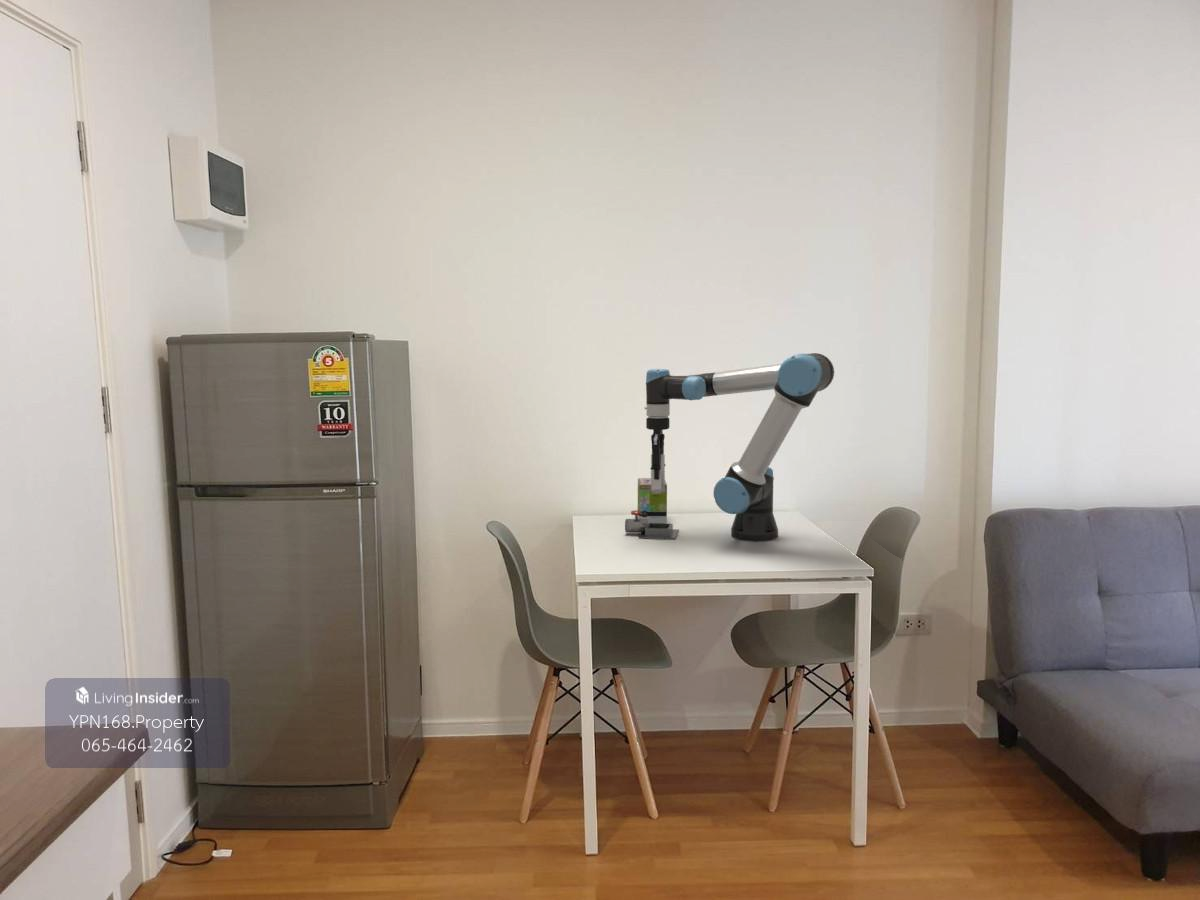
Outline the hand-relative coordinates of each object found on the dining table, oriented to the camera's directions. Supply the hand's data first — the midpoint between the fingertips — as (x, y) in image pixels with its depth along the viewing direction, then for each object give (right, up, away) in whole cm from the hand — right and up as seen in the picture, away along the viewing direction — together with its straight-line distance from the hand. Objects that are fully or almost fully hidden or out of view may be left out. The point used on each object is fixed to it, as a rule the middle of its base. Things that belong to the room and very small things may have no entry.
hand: (658, 487), depth 280 cm
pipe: (0, -1, 0) cm, 1 cm away
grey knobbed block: (-2, -16, +2) cm, 16 cm away
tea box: (-1, -13, +22) cm, 26 cm away
